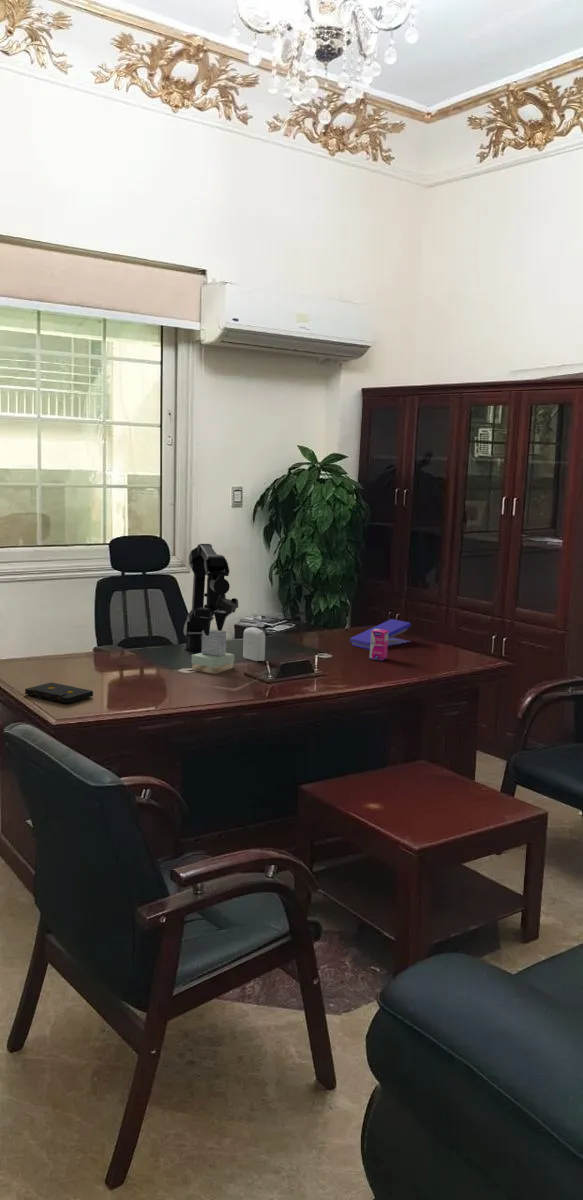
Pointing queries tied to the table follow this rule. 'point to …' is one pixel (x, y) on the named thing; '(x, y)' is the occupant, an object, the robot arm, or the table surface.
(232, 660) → the tower top block
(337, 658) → the table surface
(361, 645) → the stapler
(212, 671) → the tower base block
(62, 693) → the cassette tape
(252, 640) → the photo printer
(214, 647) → the medicine box
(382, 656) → the supplement box
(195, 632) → the robot arm
